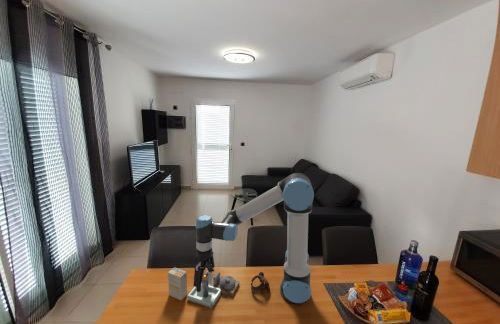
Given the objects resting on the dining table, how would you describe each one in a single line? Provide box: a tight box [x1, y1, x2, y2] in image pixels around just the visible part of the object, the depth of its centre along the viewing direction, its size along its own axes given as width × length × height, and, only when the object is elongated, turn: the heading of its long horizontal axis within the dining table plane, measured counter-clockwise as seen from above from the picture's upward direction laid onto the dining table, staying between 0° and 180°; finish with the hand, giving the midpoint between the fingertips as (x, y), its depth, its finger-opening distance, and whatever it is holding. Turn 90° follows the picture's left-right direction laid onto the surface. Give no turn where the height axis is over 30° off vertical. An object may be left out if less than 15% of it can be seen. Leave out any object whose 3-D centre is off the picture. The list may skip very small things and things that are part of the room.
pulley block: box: [204, 269, 240, 297], centre depth 114 cm, size 18×9×6 cm, turn 71°
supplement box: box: [167, 267, 188, 302], centre depth 106 cm, size 8×5×13 cm, turn 65°
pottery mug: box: [250, 271, 271, 293], centre depth 113 cm, size 12×10×8 cm
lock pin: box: [202, 272, 209, 298], centre depth 106 cm, size 4×4×11 cm
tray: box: [187, 285, 222, 309], centre depth 106 cm, size 14×10×2 cm
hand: (204, 289), depth 106 cm, fingers open, 8 cm apart
